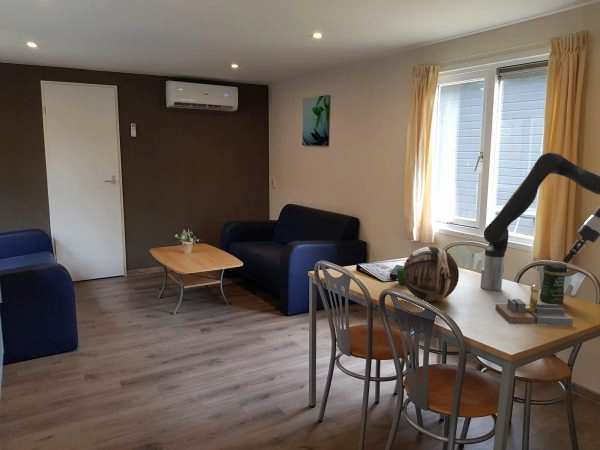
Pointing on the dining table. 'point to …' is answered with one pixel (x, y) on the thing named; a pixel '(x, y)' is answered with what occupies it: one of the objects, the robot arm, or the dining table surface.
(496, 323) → the dining table surface
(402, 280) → the bell pepper
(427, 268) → the sphere
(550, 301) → the coffee jar
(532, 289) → the bolt
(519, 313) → the door edge model
